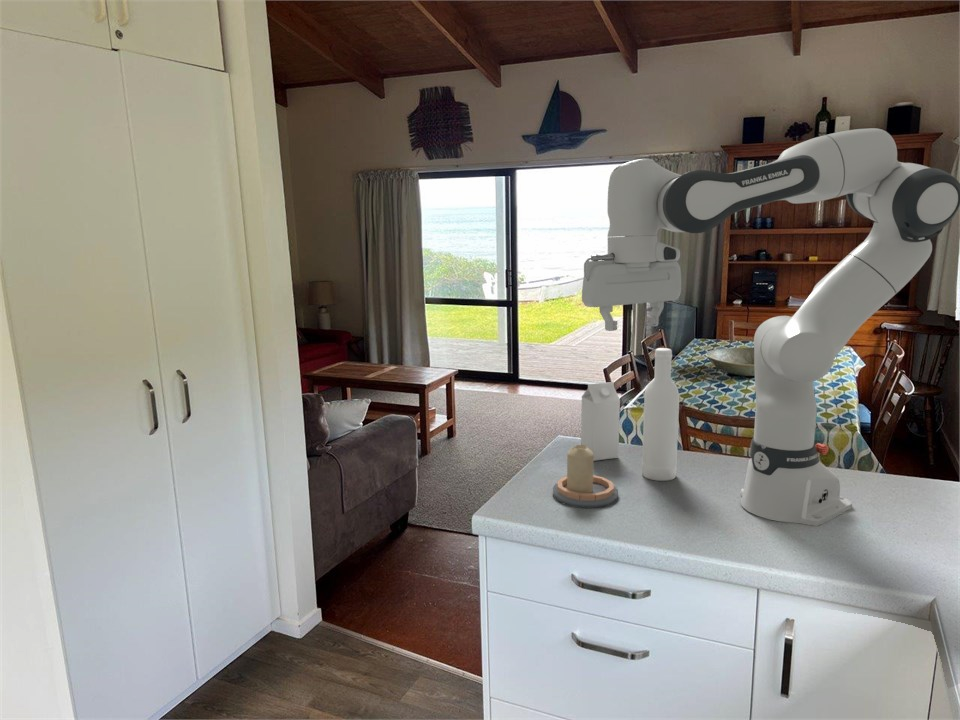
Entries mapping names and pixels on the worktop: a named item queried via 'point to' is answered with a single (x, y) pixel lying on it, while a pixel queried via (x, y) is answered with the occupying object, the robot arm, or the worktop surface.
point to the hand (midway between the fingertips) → (632, 328)
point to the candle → (580, 469)
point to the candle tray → (587, 494)
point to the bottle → (661, 421)
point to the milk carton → (601, 420)
